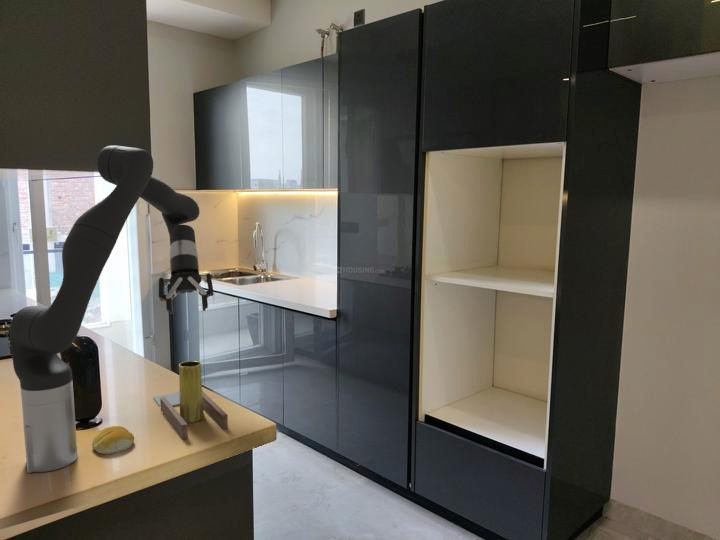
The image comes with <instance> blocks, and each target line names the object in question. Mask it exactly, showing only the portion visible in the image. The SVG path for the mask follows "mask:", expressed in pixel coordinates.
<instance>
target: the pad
mask: <svg viewBox="0 0 720 540" xmlns="http://www.w3.org/2000/svg"><path fill="white" fill-rule="evenodd" d="M163 397H165V398H166V399H167V400H168V401H169V402H170V404H171V405H172V406H174V407H176V406H175V405H179V406H180V391H178V392H177V391H175V392H172V393H167V394H162V395H161V394H160V395H156V396H153V397H152V398H154V399H153V400H154V402H155V403H156V402H157V403H156V404H157V405H158V407H159V406H160V407H161V403H160V398H163ZM160 407H159V408H160Z"/></svg>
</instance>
